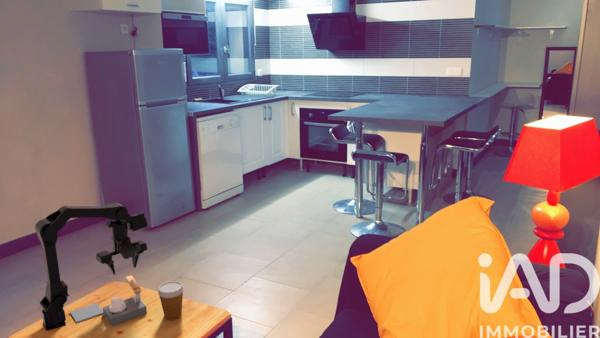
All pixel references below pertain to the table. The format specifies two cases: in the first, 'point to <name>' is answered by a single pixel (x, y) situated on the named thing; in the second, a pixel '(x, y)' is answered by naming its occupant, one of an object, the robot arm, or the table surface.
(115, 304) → the plug
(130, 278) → the light orange flat bar
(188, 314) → the table surface
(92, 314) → the mat
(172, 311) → the disposable coffee cup
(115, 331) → the table surface
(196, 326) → the table surface
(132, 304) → the socket base
